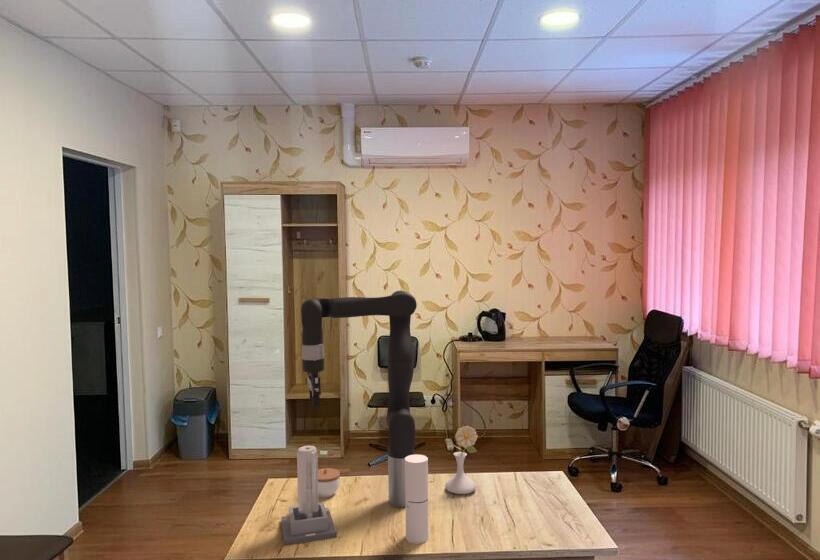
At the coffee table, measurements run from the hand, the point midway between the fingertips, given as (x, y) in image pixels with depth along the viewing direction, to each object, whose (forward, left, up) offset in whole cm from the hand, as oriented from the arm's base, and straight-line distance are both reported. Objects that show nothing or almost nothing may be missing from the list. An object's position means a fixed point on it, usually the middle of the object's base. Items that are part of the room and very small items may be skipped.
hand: (314, 403), depth 194 cm
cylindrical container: (-28, +29, -38) cm, 55 cm away
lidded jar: (-5, -12, -38) cm, 40 cm away
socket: (+4, +13, -37) cm, 40 cm away
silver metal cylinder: (+4, +13, -36) cm, 38 cm away
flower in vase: (-54, +1, -38) cm, 65 cm away
